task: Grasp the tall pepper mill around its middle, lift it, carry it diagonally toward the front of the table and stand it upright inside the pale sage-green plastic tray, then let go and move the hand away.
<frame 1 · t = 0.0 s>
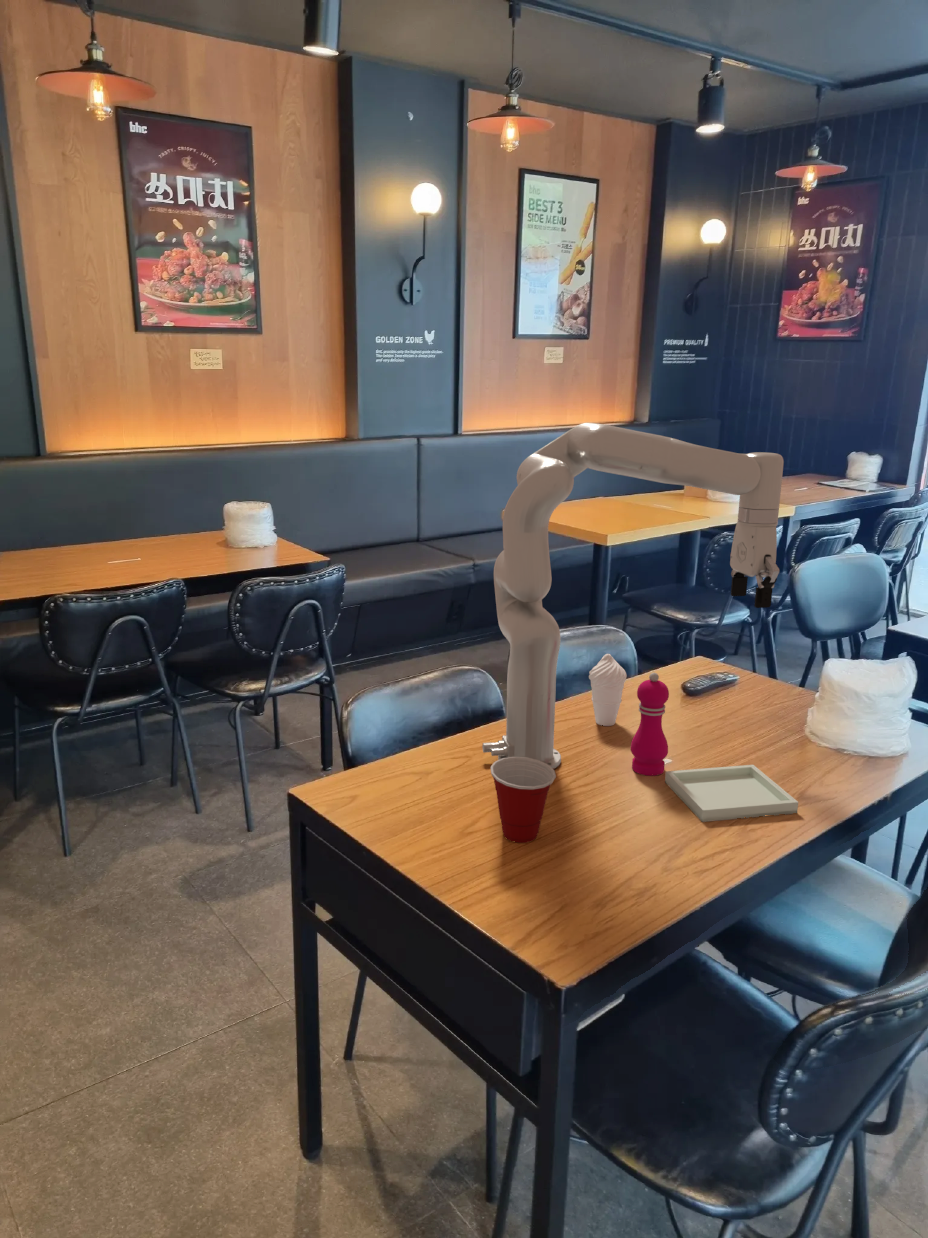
hand: (750, 601, 176), 31 cm above the table, tool pointing down, fingers open, 9 cm apart
plastic cup: (521, 836, 147), on the table
tray: (728, 797, 161), on the table
soft serve ice cream cone: (605, 723, 196), on the table
pepper mill: (647, 770, 172), on the table
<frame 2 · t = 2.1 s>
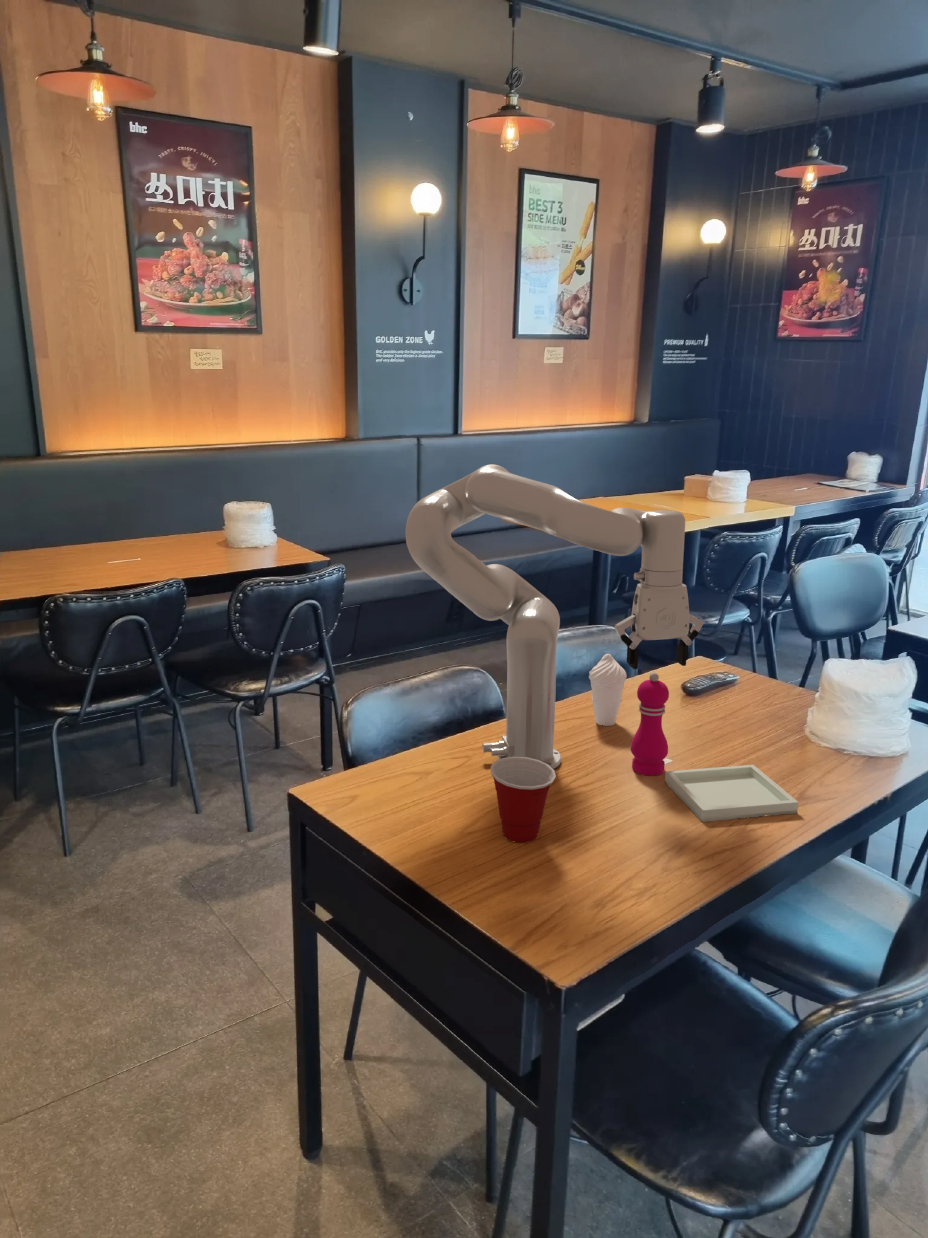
hand: (657, 665, 166), 21 cm above the table, tool pointing down, fingers open, 9 cm apart
nothing on the table moved.
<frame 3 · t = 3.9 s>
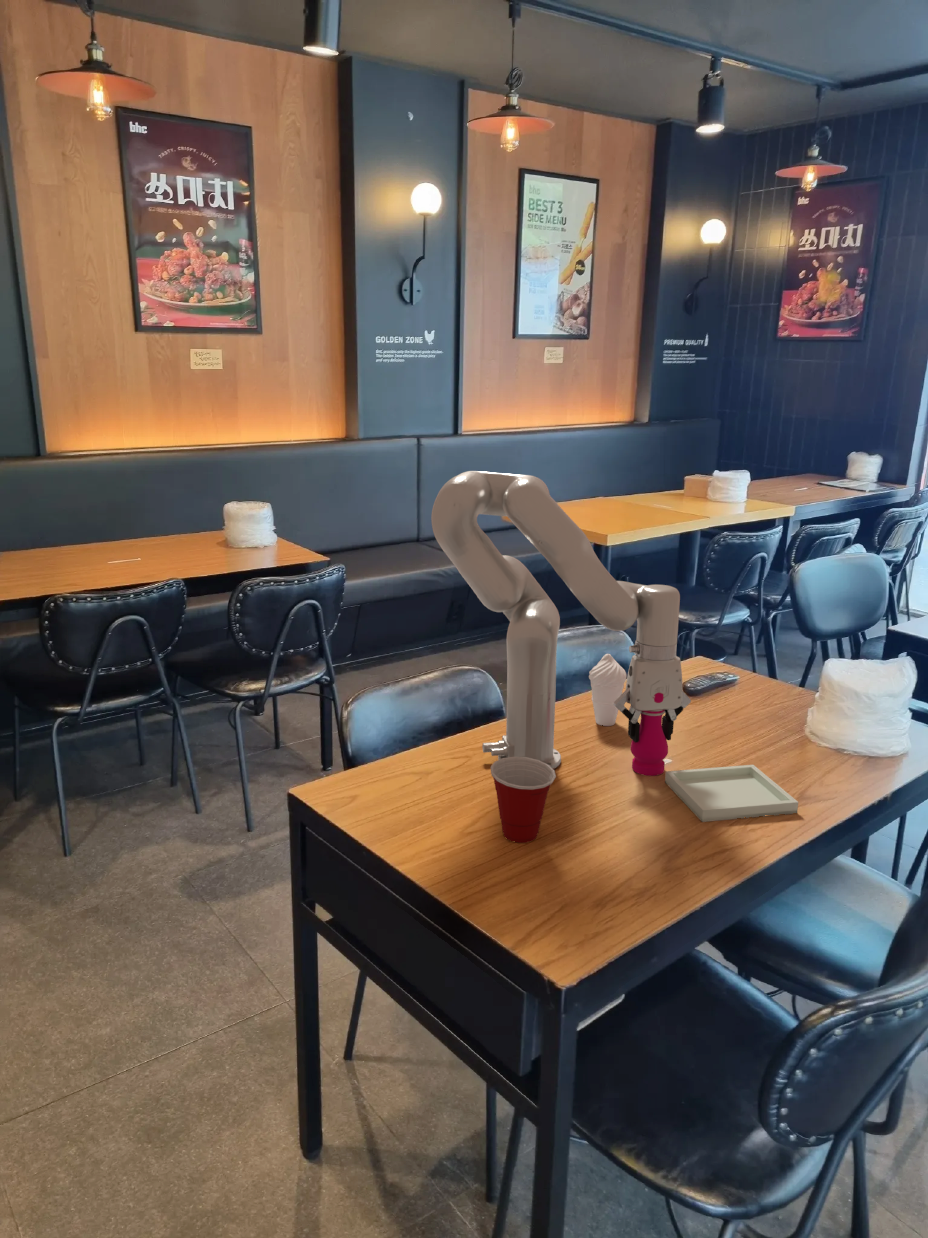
hand: (650, 737, 170), 7 cm above the table, tool pointing down, fingers closed on pepper mill, 5 cm apart
pepper mill: (647, 770, 172), on the table, touching gripper
everything else where it was.
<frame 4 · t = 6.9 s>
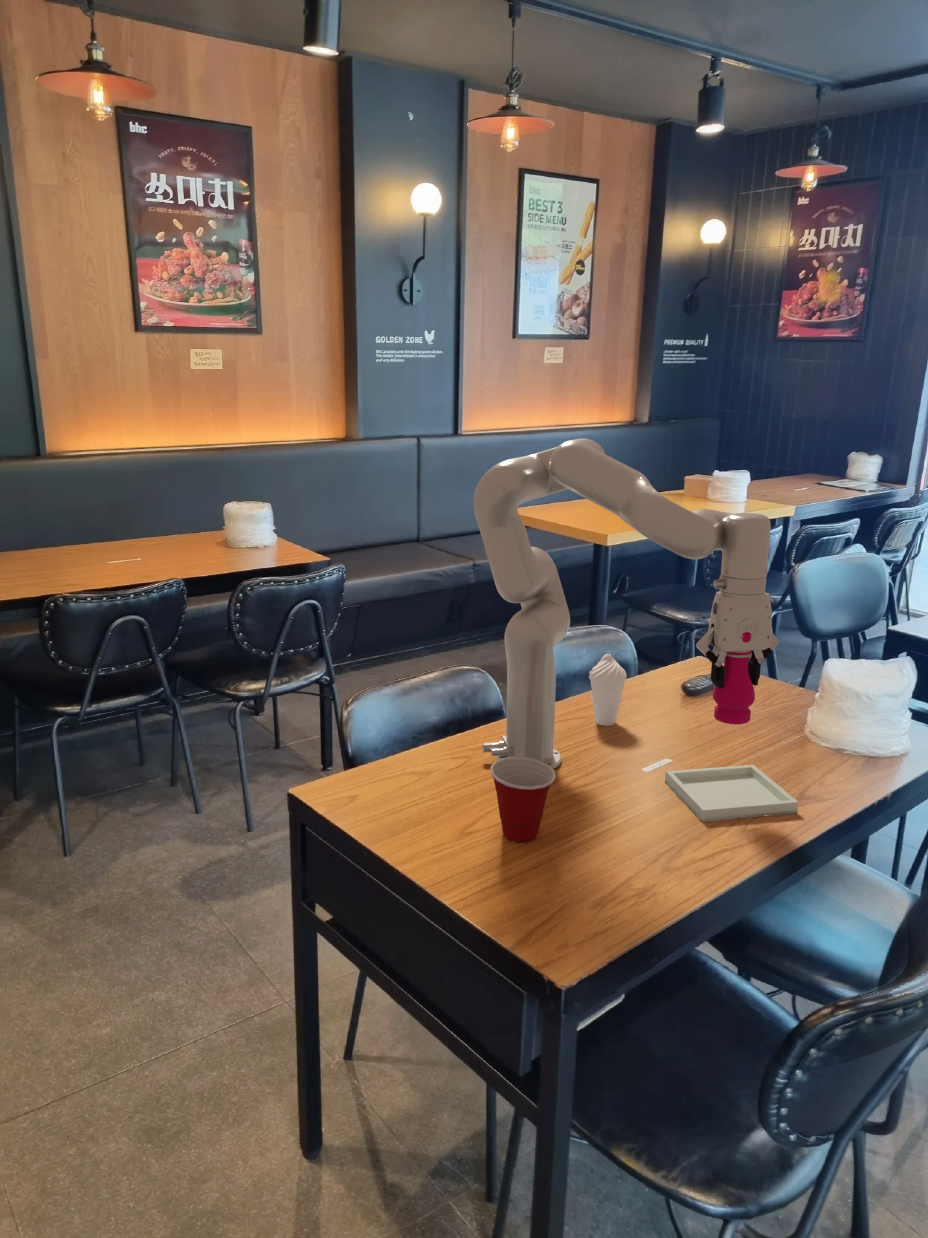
hand: (734, 683, 156), 22 cm above the table, tool pointing down, fingers closed on pepper mill, 5 cm apart
pepper mill: (731, 719, 157), point 15 cm above the table, touching gripper
everything else where it was.
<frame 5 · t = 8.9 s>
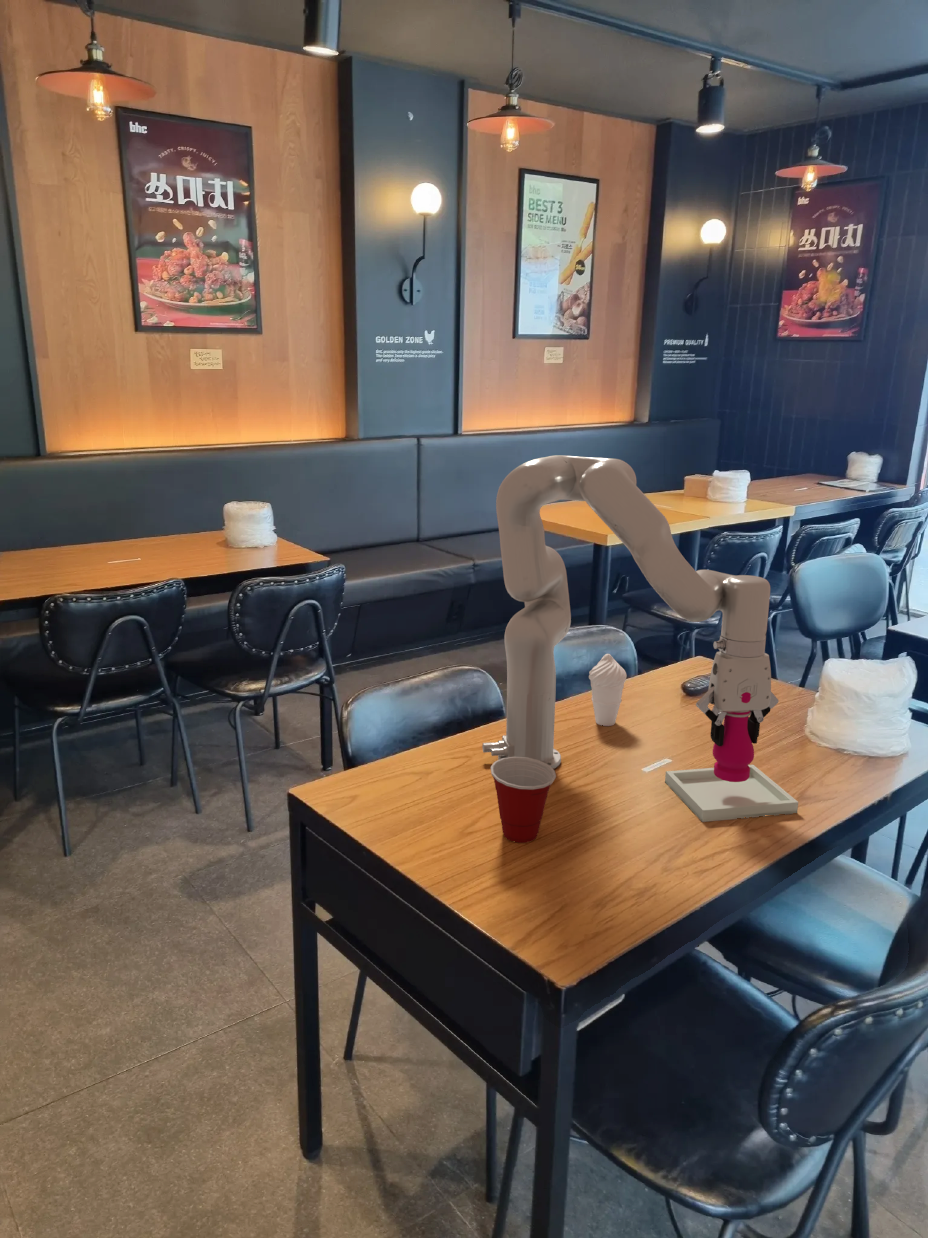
hand: (734, 741, 158), 11 cm above the table, tool pointing down, fingers closed on pepper mill, 5 cm apart
pepper mill: (731, 776, 159), point 4 cm above the table, touching gripper
everything else where it was.
when the fingers open (8 cm above the table, at t = 10.0 s): pepper mill drops 1 cm, resting on tray.
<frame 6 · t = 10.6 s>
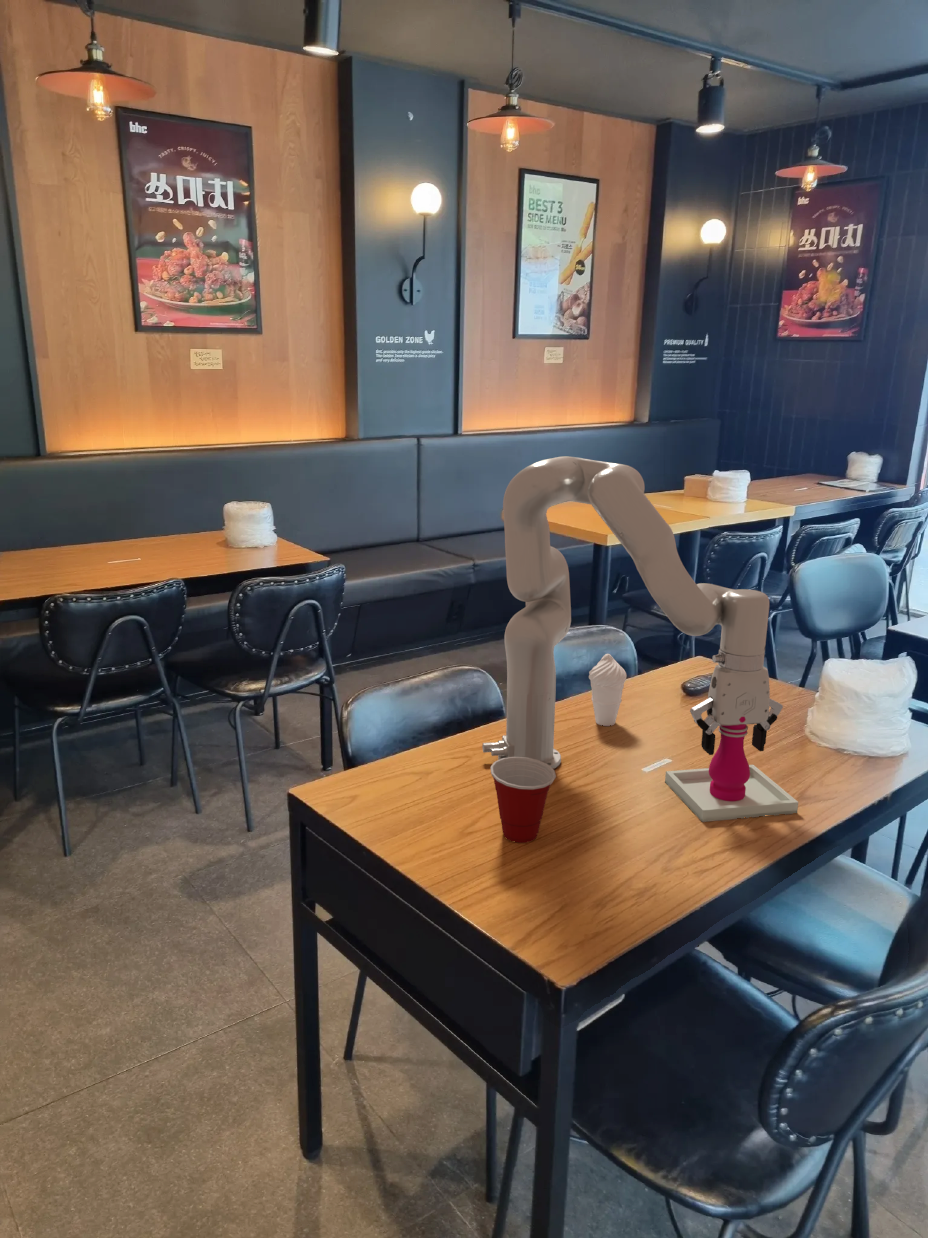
hand: (732, 750, 158), 9 cm above the table, tool pointing down, fingers open, 9 cm apart
pepper mill: (727, 795, 161), resting on tray
everything else where it was.
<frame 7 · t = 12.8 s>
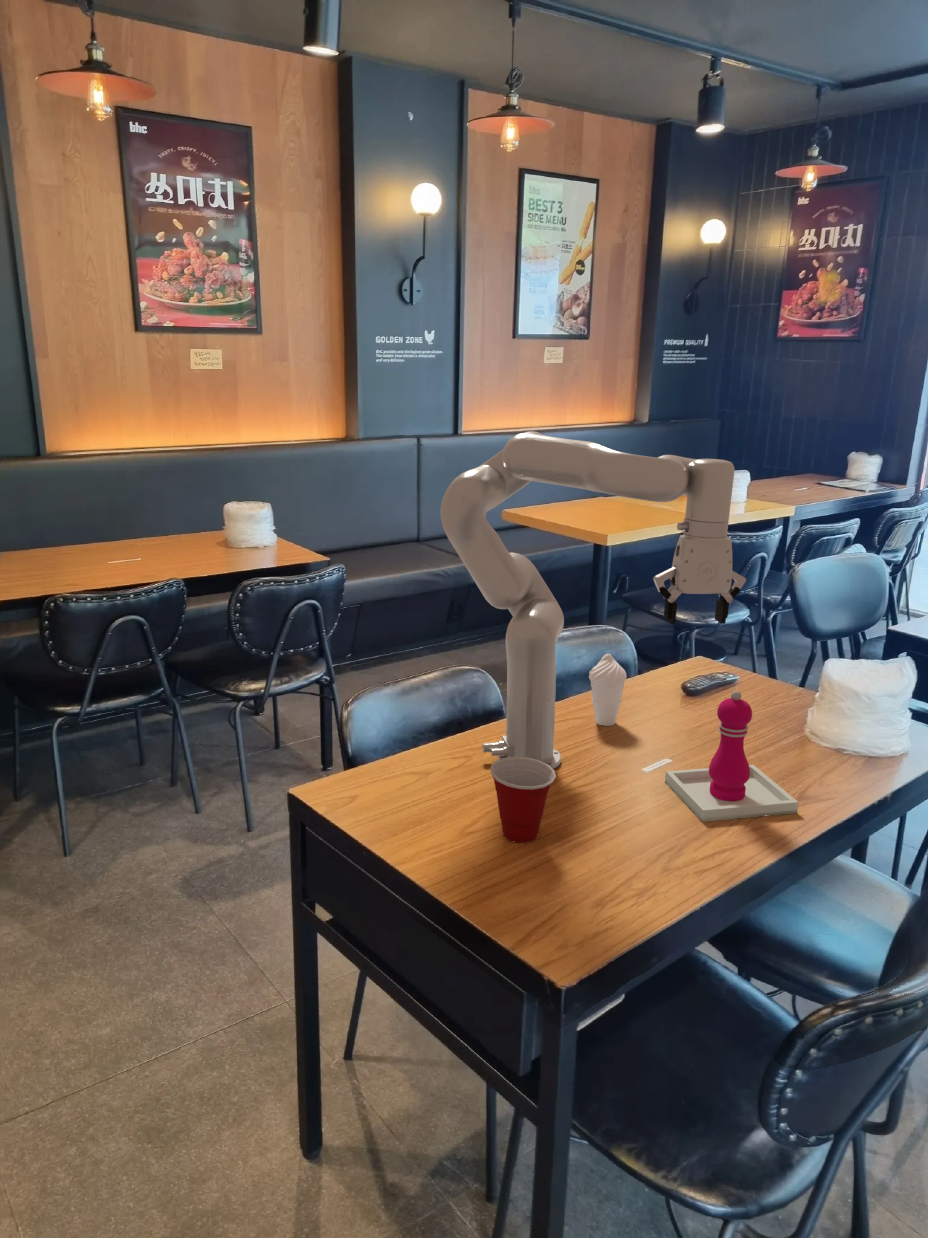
hand: (695, 621, 160), 31 cm above the table, tool pointing down, fingers open, 9 cm apart
nothing on the table moved.
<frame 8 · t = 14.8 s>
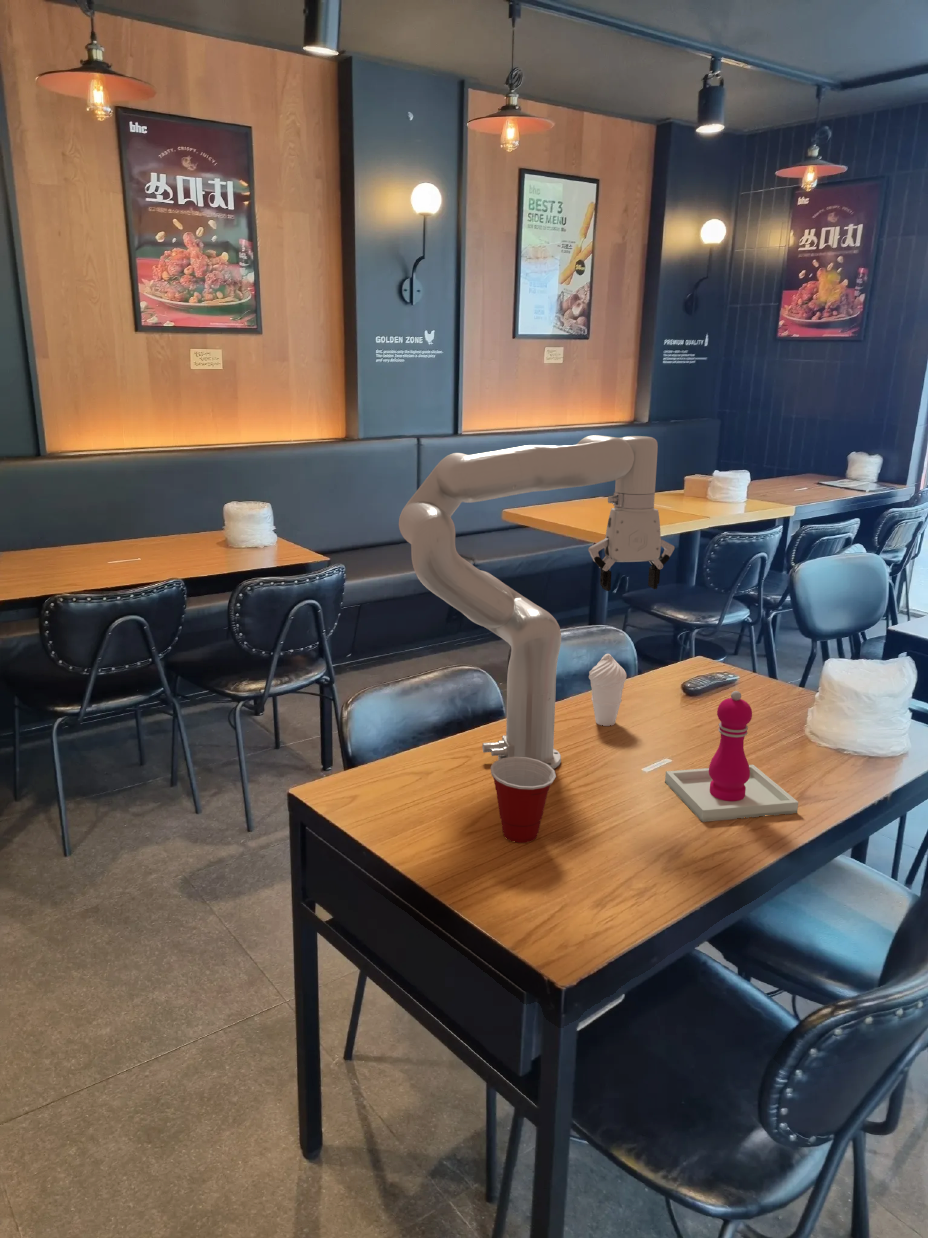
hand: (629, 588, 172), 34 cm above the table, tool pointing down, fingers open, 9 cm apart
nothing on the table moved.
at the end: pepper mill inside the target area on the tray (0.4 cm from its centre), point 0.4 cm above the tray's base; pepper mill tilted 0°; the gripper is holding nothing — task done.
